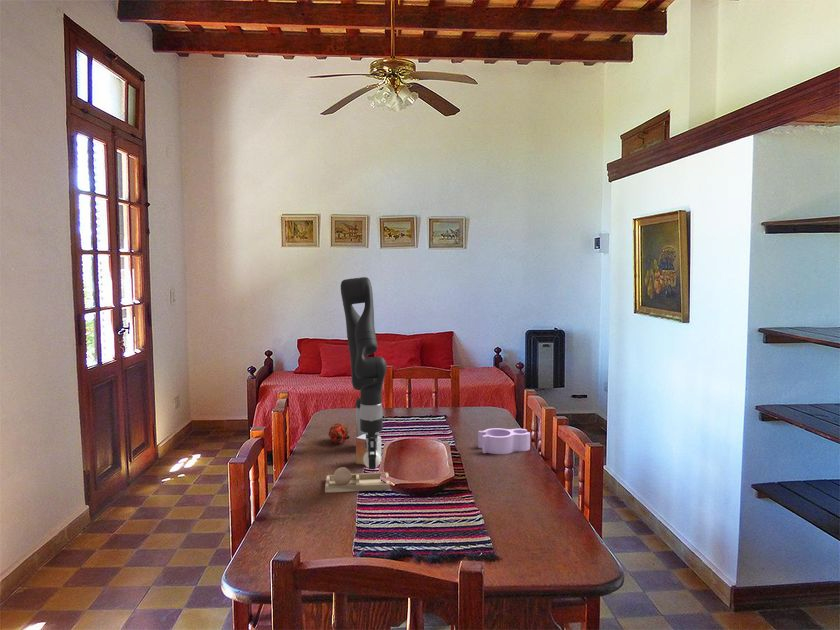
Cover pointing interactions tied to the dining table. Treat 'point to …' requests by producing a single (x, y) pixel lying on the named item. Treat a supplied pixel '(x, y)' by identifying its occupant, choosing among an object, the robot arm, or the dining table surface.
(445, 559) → the dining table surface
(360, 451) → the small box
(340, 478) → the beige ball
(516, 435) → the lavender double cup holder
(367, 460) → the white ball
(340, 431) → the dragon fruit
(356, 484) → the beige divided tray
